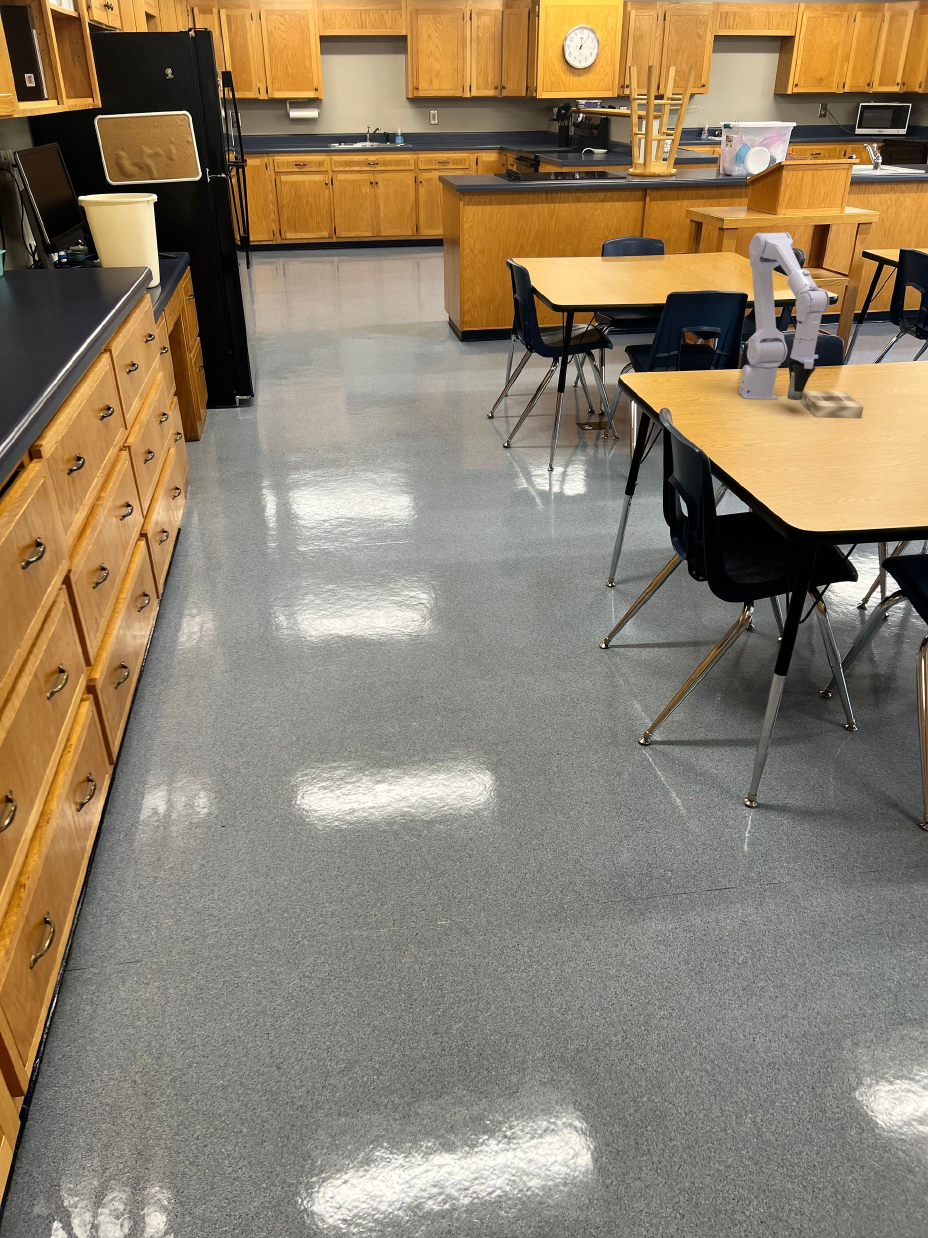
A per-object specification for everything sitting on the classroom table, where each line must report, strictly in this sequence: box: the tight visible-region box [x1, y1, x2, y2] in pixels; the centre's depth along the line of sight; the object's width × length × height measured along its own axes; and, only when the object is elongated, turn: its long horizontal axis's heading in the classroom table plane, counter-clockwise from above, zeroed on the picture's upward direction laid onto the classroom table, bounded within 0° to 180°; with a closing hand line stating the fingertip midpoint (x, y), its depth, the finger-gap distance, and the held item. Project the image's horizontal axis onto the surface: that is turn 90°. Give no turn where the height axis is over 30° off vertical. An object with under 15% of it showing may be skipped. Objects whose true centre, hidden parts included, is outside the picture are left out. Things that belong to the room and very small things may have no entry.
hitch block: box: [799, 390, 865, 419], centre depth 248 cm, size 12×16×3 cm
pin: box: [786, 371, 805, 401], centre depth 245 cm, size 4×4×7 cm
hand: (796, 389), depth 245 cm, fingers closed on pin, 4 cm apart
